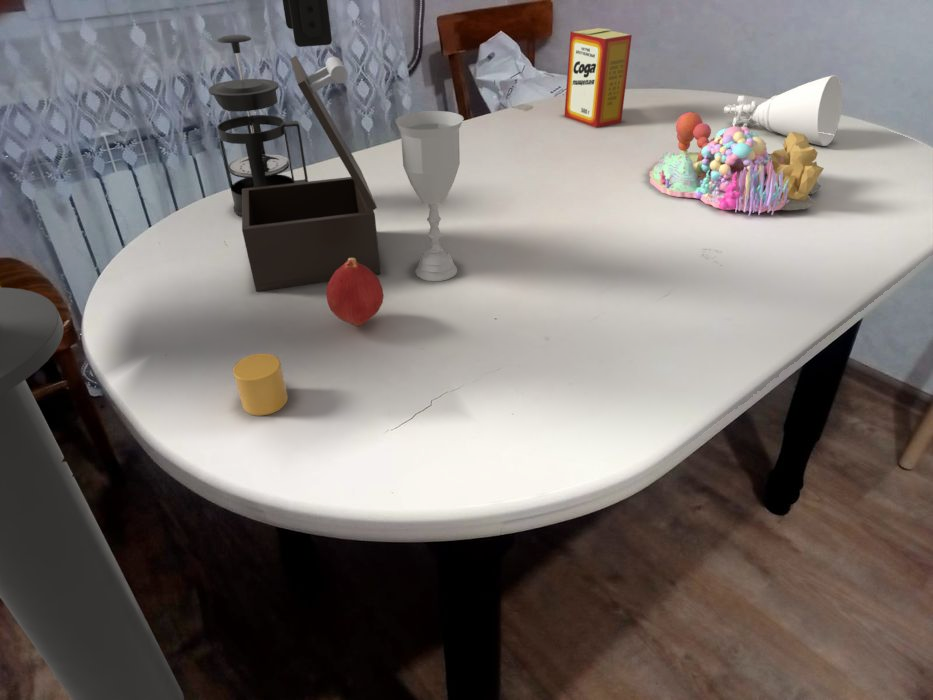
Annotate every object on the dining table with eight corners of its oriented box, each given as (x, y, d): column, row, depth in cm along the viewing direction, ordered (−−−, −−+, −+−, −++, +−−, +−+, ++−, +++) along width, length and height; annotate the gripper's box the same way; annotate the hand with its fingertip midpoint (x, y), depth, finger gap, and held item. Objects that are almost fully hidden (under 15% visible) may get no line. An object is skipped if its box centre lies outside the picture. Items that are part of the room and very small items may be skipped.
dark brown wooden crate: (256, 291, 76) (241, 229, 72) (254, 245, 86) (241, 188, 82) (380, 274, 79) (374, 213, 75) (365, 231, 89) (359, 175, 85)
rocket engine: (727, 70, 122) (832, 60, 110) (747, 103, 130) (847, 97, 118) (708, 128, 121) (812, 125, 109) (730, 157, 130) (828, 157, 118)
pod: (238, 417, 58) (228, 381, 56) (246, 389, 61) (237, 354, 59) (284, 414, 58) (276, 378, 56) (290, 386, 61) (282, 351, 59)
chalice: (416, 289, 76) (405, 133, 66) (399, 264, 81) (387, 115, 71) (474, 277, 78) (473, 124, 68) (454, 253, 83) (450, 107, 73)
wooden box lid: (297, 84, 65) (341, 59, 65) (289, 58, 75) (328, 37, 75) (371, 211, 74) (410, 190, 74) (355, 173, 84) (390, 155, 84)
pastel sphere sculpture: (809, 166, 107) (826, 108, 102) (833, 225, 89) (855, 157, 84) (652, 154, 113) (660, 99, 108) (644, 207, 95) (654, 143, 89)
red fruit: (321, 321, 71) (310, 254, 66) (368, 304, 73) (361, 239, 69) (347, 346, 67) (337, 276, 62) (395, 327, 69) (389, 259, 65)
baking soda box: (621, 121, 129) (632, 32, 120) (596, 127, 126) (605, 36, 117) (588, 111, 136) (596, 25, 127) (564, 116, 133) (570, 29, 124)
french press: (227, 223, 92) (185, 45, 79) (230, 198, 99) (192, 31, 86) (313, 214, 94) (285, 39, 81) (309, 190, 102) (284, 27, 88)
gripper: (225, -190, 58) (263, 24, 68) (226, -215, 45) (273, 56, 54) (311, -189, 60) (335, 19, 70) (337, -213, 46) (363, 50, 56)
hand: (308, 35), depth 62 cm, fingers open, 9 cm apart
